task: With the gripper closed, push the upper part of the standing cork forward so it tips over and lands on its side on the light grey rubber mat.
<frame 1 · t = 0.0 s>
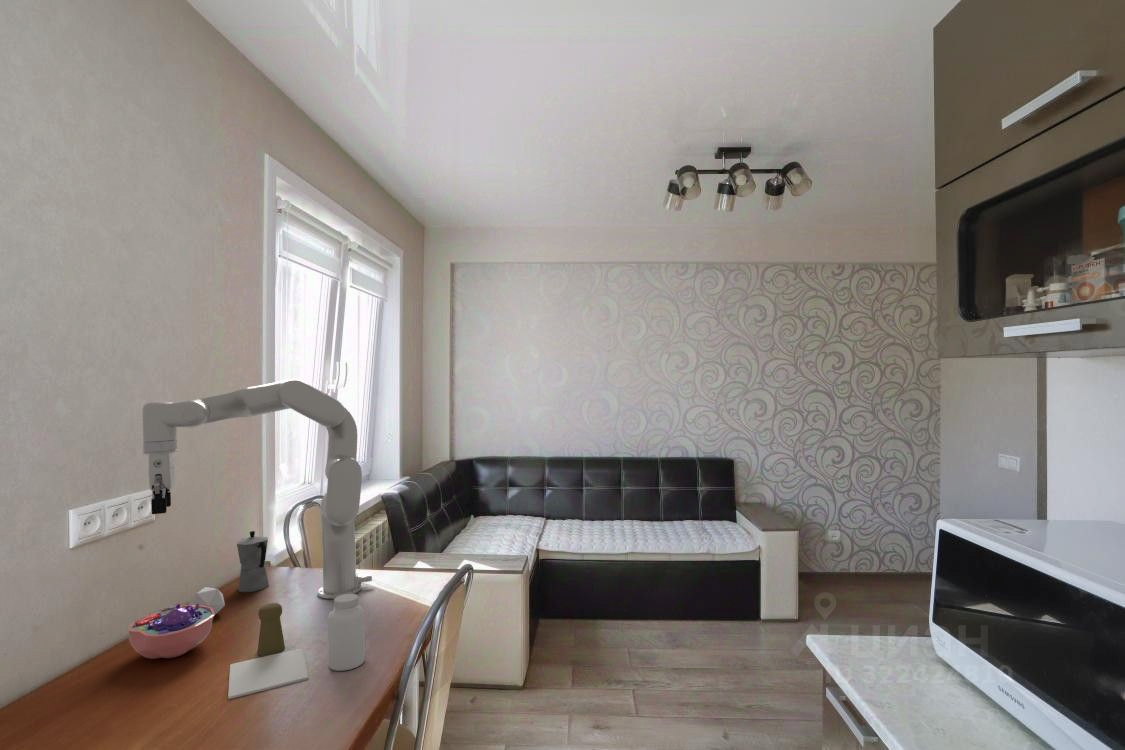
hand: (161, 510, 156), 31 cm above the table, tool pointing down, fingers open, 9 cm apart
coffeepot: (255, 588, 183), on the table
cork: (271, 651, 139), on the table
cell model: (172, 653, 139), on the table
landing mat: (268, 672, 128), on the table
pill bottle: (347, 664, 131), on the table
die: (207, 617, 161), on the table
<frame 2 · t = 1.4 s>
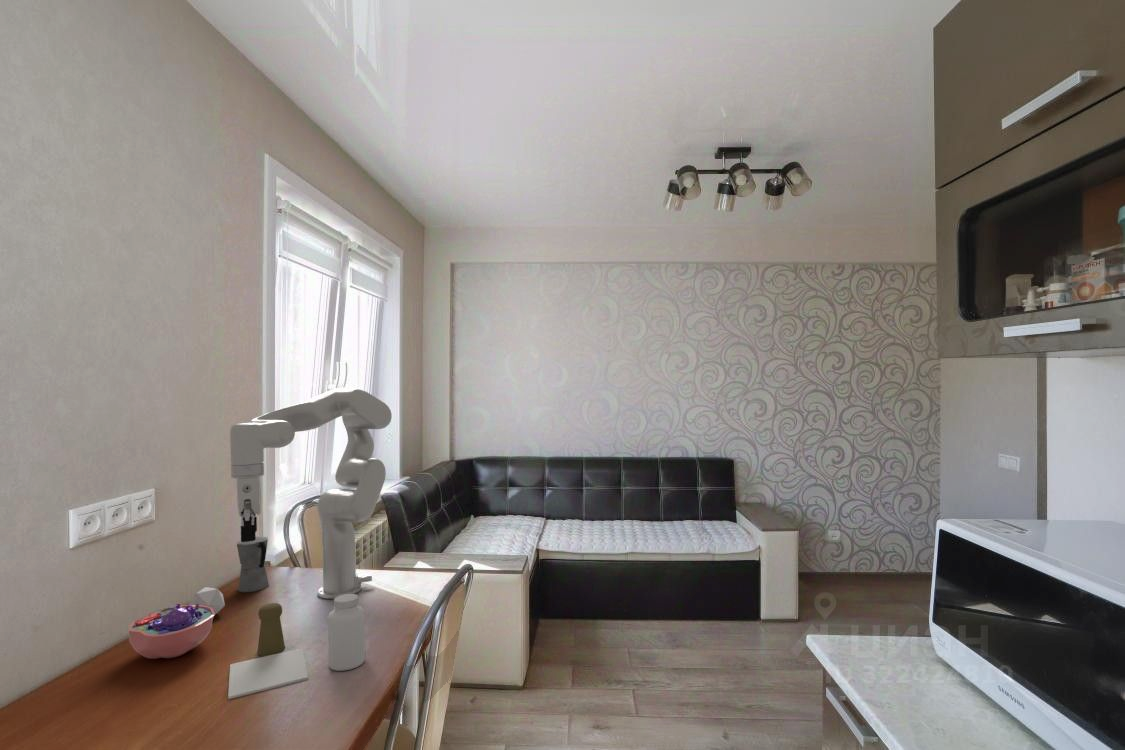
hand: (249, 536, 148), 25 cm above the table, tool pointing down, fingers open, 9 cm apart
nothing on the table moved.
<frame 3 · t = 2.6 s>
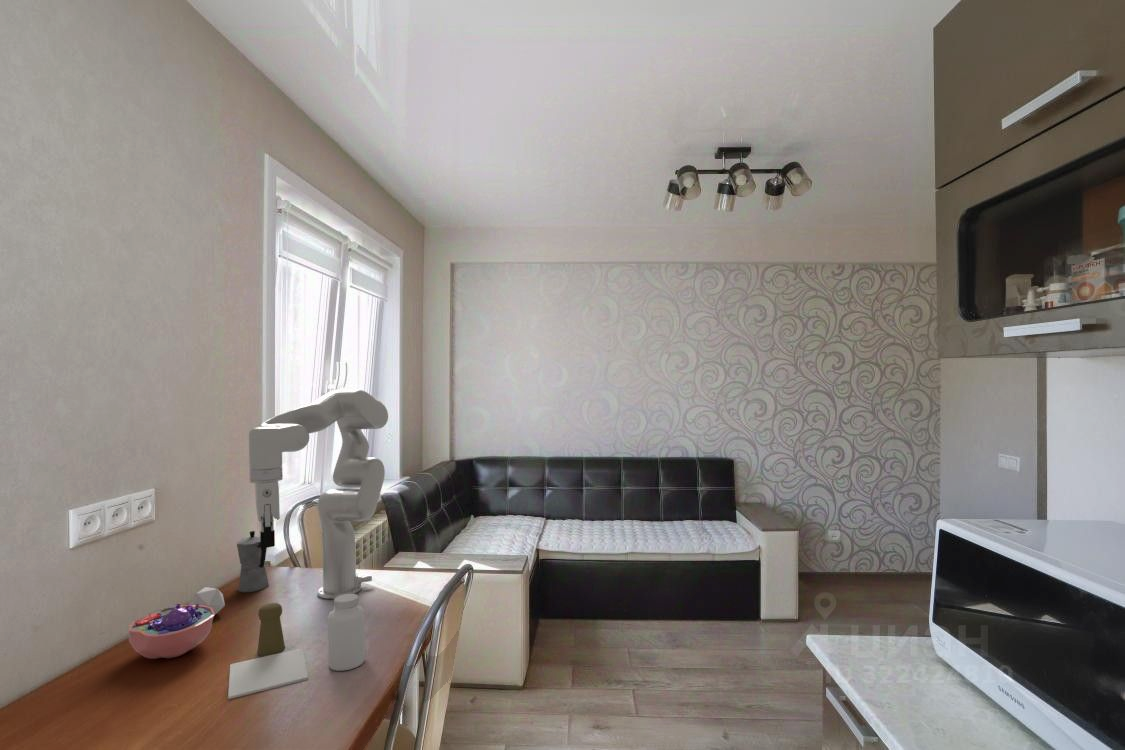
hand: (267, 546, 147), 23 cm above the table, tool pointing down, fingers closed
nothing on the table moved.
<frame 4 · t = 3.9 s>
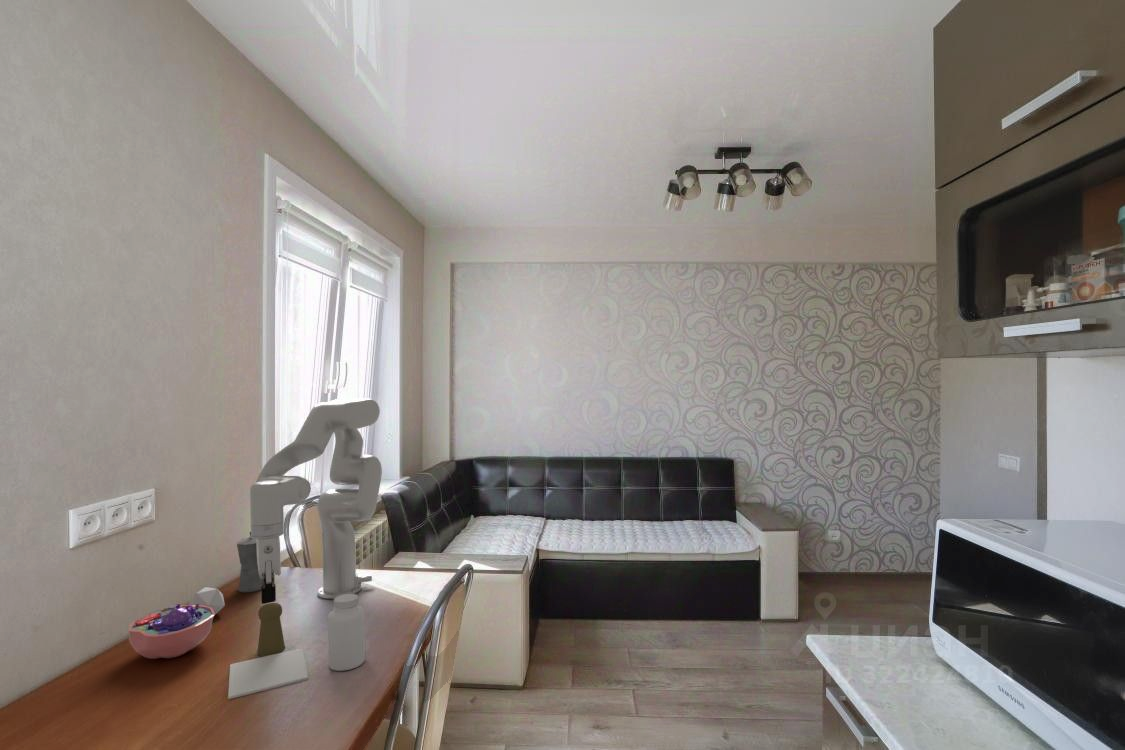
hand: (268, 601, 147), 9 cm above the table, tool pointing down, fingers closed
nothing on the table moved.
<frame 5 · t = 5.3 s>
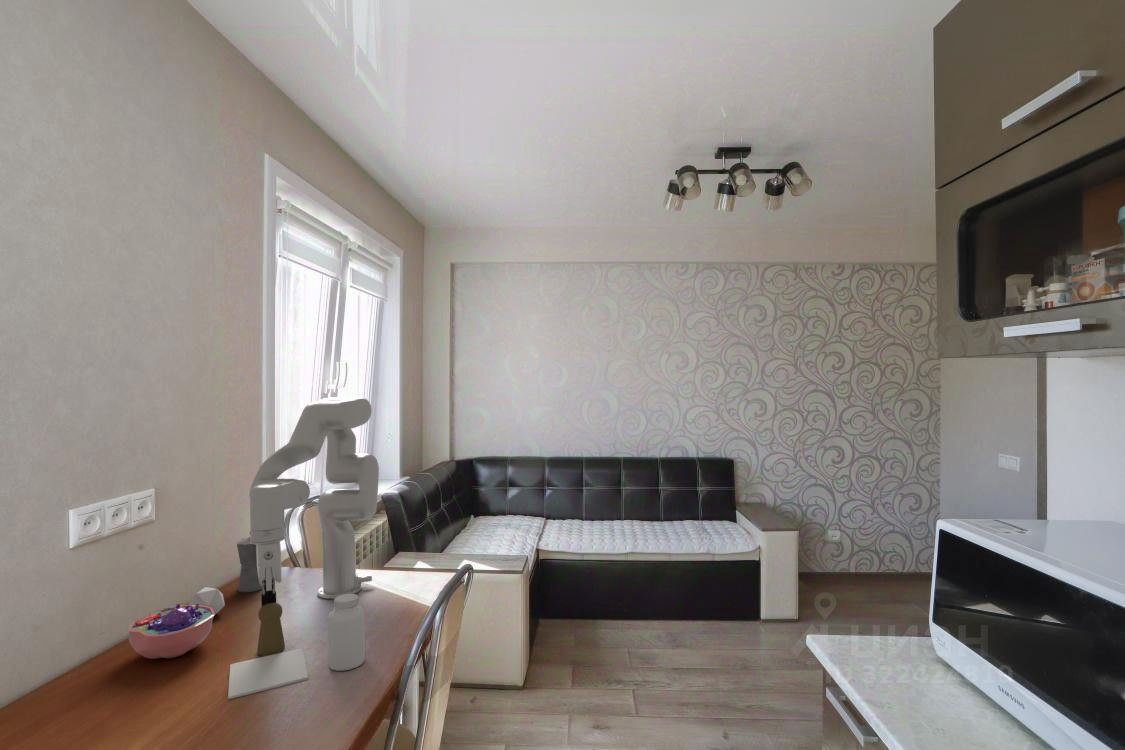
hand: (268, 609, 141), 9 cm above the table, tool pointing down, fingers closed
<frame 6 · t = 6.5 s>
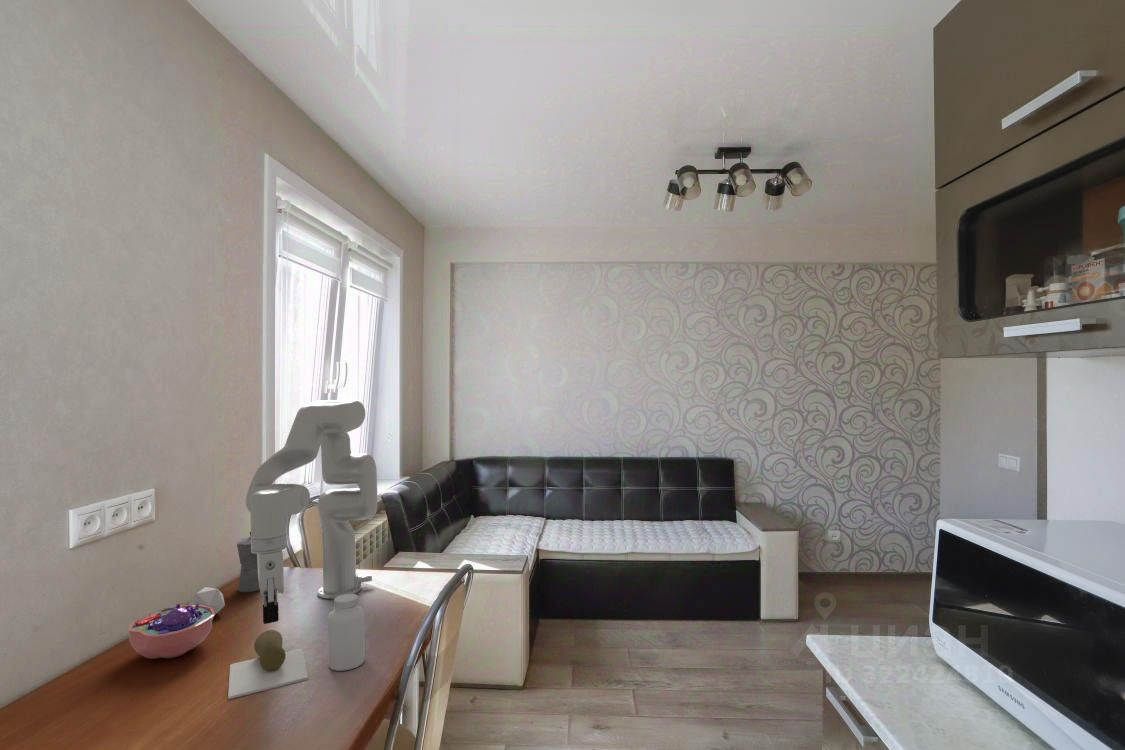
hand: (270, 621, 135), 9 cm above the table, tool pointing down, fingers closed
cork: (268, 642, 136), point 3 cm above the table, touching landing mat
everything else where it was.
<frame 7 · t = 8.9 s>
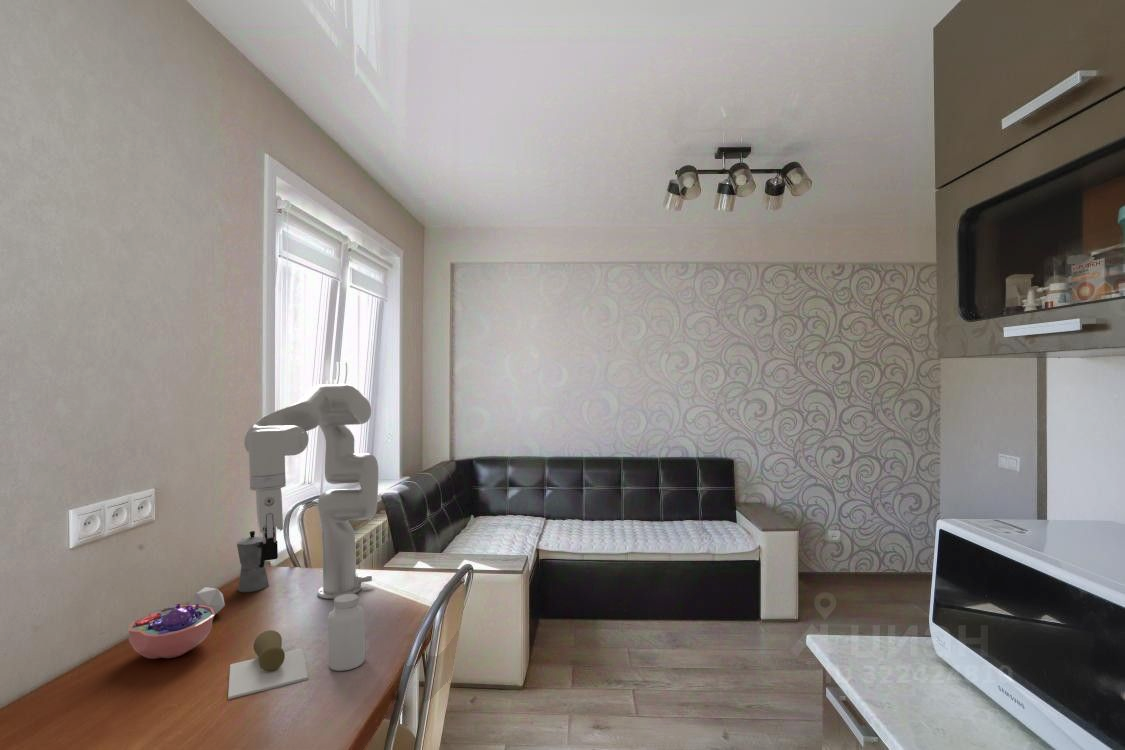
hand: (270, 558, 135), 23 cm above the table, tool pointing down, fingers closed
nothing on the table moved.
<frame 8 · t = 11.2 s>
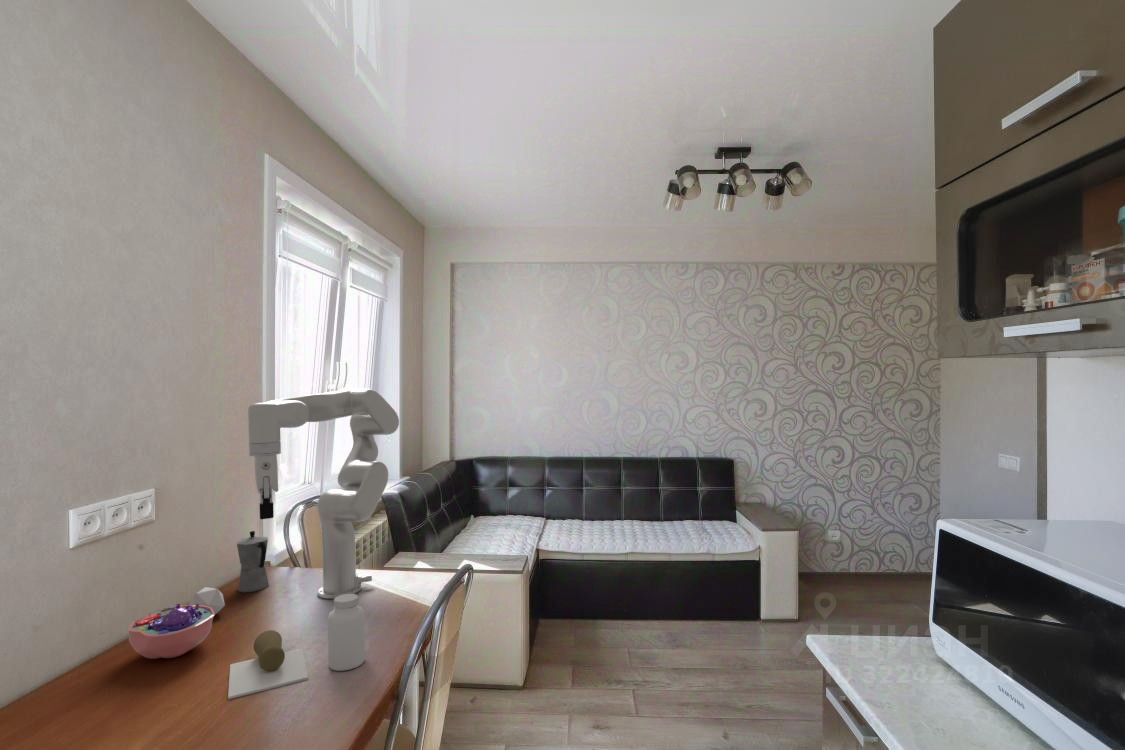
hand: (266, 517, 152), 29 cm above the table, tool pointing down, fingers closed
nothing on the table moved.
at the end: cork tilted 89°; cork touching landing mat, table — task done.
